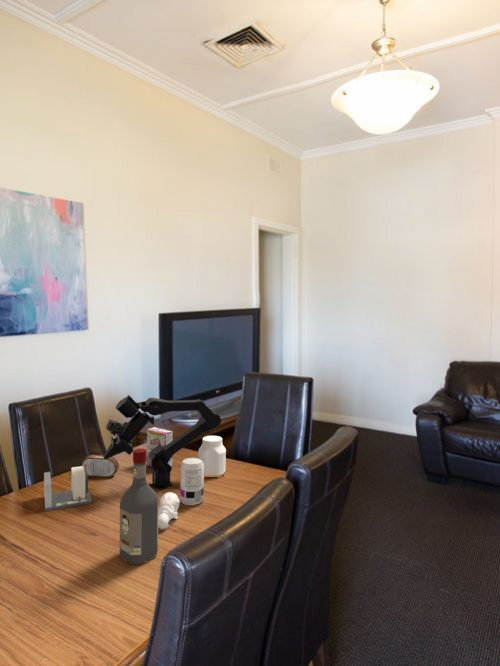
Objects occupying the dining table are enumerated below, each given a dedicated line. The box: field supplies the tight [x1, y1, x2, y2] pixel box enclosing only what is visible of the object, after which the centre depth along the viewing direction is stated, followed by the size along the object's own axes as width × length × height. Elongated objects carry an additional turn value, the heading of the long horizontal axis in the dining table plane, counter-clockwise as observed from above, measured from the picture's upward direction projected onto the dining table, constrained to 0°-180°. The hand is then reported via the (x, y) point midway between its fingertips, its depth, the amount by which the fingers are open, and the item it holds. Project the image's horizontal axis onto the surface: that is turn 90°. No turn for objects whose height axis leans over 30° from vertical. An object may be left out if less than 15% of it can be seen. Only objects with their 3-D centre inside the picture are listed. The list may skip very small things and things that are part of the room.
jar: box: [197, 435, 227, 475], centre depth 187 cm, size 12×10×15 cm
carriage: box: [70, 465, 89, 501], centre depth 160 cm, size 5×10×9 cm, turn 26°
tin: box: [81, 454, 120, 478], centre depth 182 cm, size 15×3×8 cm, turn 84°
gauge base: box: [43, 471, 93, 512], centre depth 159 cm, size 15×12×9 cm
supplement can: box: [179, 457, 205, 506], centre depth 160 cm, size 8×8×15 cm
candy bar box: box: [146, 426, 174, 468], centre depth 193 cm, size 11×5×16 cm, turn 58°
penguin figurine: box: [158, 491, 181, 531], centre depth 144 cm, size 6×8×12 cm
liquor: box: [119, 448, 159, 565], centre depth 125 cm, size 9×9×30 cm
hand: (104, 458), depth 164 cm, fingers closed
